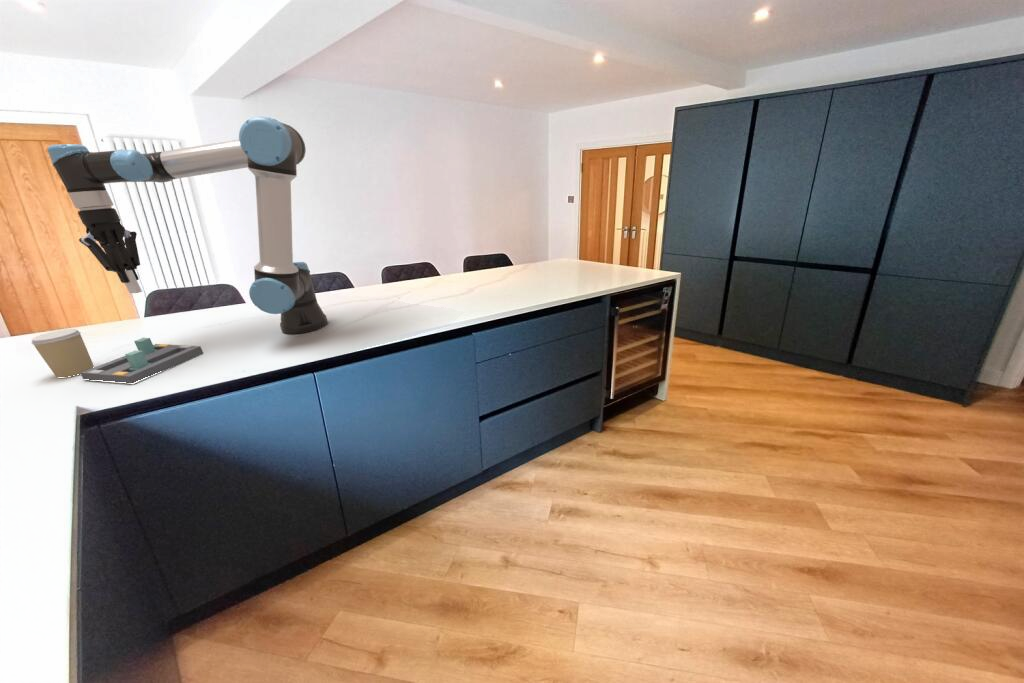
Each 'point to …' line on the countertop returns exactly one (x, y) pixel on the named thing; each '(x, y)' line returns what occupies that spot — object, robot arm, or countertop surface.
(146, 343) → the tab
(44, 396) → the countertop surface
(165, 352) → the switch board
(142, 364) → the tab
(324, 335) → the countertop surface
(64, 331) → the coffee cup
